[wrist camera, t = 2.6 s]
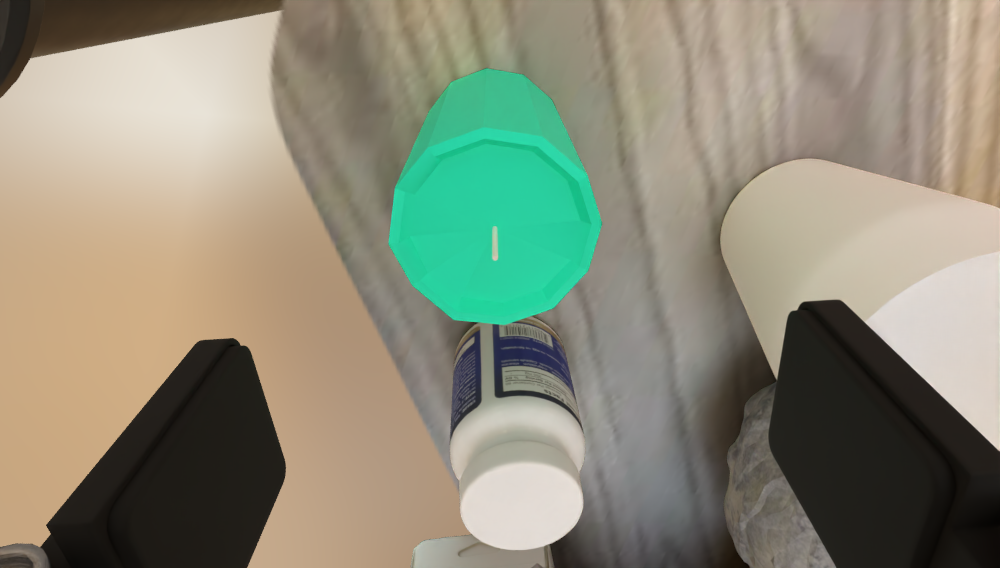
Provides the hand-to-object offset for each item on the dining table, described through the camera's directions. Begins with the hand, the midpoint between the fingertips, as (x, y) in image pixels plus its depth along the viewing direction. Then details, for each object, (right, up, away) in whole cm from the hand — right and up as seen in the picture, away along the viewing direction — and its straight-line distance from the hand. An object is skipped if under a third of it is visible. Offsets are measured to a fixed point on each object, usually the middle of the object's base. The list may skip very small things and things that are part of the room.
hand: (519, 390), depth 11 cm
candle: (-1, +8, +16) cm, 18 cm away
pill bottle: (0, -2, +21) cm, 21 cm away
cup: (+13, +5, +18) cm, 23 cm away
